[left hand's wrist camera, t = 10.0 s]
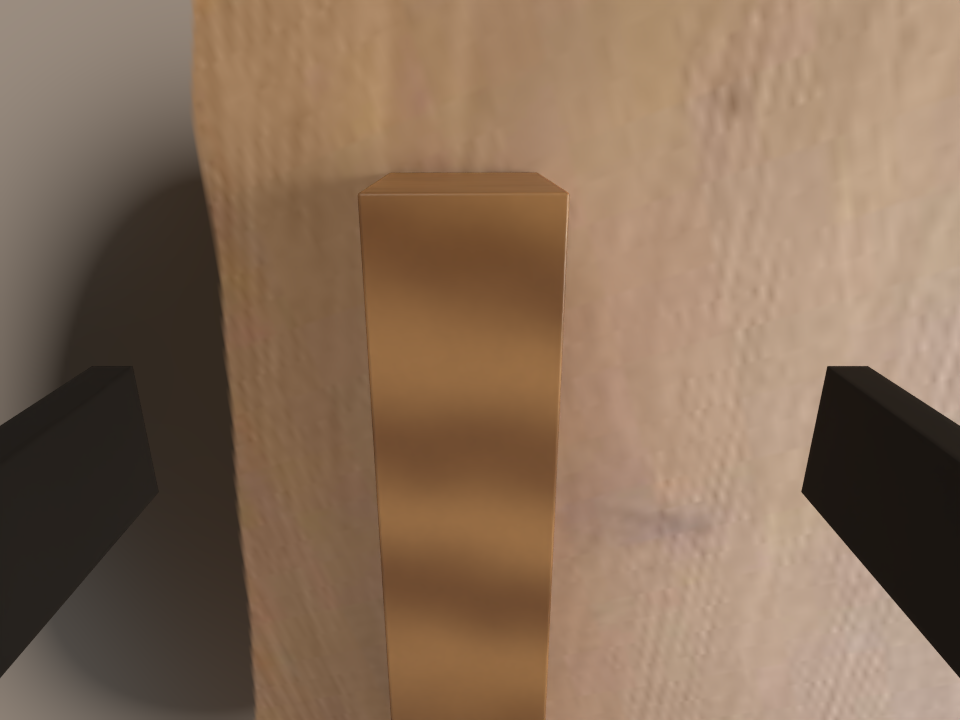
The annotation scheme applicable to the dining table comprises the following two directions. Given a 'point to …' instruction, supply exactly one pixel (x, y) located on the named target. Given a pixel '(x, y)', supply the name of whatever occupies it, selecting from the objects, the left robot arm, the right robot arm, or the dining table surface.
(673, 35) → the dining table surface
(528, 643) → the beam
